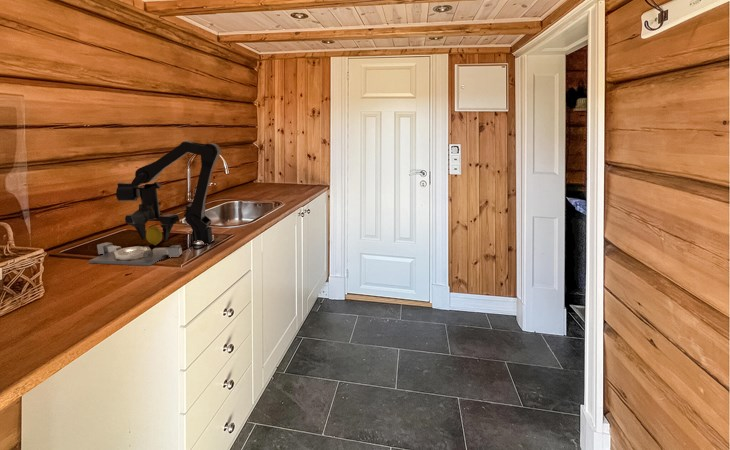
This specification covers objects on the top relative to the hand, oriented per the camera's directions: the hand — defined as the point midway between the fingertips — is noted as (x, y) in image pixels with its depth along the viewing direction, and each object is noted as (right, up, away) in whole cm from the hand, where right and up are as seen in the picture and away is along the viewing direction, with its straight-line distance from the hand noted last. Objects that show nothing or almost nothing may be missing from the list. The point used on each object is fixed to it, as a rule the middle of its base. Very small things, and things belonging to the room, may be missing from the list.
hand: (154, 240), depth 155 cm
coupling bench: (0, -6, -14) cm, 15 cm away
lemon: (0, -2, +1) cm, 2 cm away
